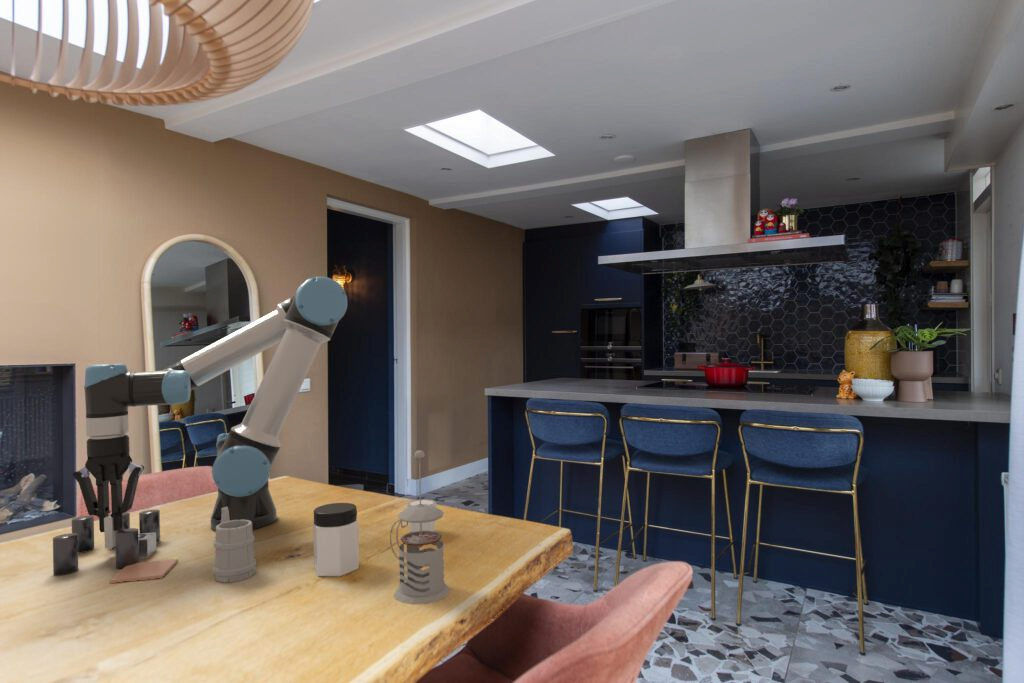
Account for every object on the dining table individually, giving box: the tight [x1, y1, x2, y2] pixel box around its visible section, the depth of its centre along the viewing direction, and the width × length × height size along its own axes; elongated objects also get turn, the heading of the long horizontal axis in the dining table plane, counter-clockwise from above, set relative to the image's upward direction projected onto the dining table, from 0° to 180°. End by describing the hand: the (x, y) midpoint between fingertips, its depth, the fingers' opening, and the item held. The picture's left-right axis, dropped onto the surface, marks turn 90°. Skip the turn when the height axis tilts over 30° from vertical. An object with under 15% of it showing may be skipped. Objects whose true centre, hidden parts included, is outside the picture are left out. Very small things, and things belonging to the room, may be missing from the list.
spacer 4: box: [114, 527, 140, 570], centre depth 120 cm, size 4×4×7 cm
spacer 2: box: [71, 515, 95, 553], centre depth 131 cm, size 4×4×7 cm
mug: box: [212, 507, 257, 583], centre depth 115 cm, size 8×12×12 cm, turn 42°
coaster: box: [109, 558, 179, 584], centre depth 116 cm, size 9×9×1 cm
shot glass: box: [406, 499, 437, 533], centre depth 137 cm, size 7×7×7 cm
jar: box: [312, 502, 360, 577], centre depth 116 cm, size 9×8×12 cm
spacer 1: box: [52, 532, 79, 576], centre depth 118 cm, size 4×4×7 cm
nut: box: [139, 532, 157, 559], centre depth 127 cm, size 5×5×4 cm
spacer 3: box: [111, 511, 131, 550], centre depth 133 cm, size 4×4×7 cm
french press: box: [389, 449, 451, 605], centre depth 105 cm, size 10×12×25 cm
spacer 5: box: [138, 509, 161, 544], centre depth 135 cm, size 4×4×7 cm
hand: (111, 546), depth 126 cm, fingers closed
